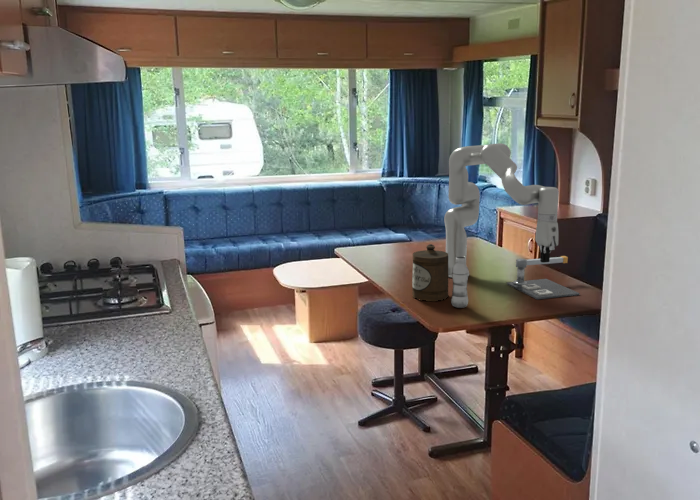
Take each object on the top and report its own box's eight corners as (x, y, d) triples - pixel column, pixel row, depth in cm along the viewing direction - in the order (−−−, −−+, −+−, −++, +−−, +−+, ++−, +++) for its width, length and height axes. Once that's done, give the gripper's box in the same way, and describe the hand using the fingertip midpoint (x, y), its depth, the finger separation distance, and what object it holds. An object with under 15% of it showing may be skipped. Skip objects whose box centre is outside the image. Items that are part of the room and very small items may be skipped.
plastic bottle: (464, 310, 246) (465, 260, 242) (448, 307, 250) (449, 258, 245) (470, 306, 251) (472, 256, 247) (454, 303, 255) (455, 254, 250)
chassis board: (536, 299, 259) (537, 297, 259) (506, 284, 281) (506, 282, 281) (579, 295, 264) (579, 293, 264) (546, 280, 287) (546, 278, 287)
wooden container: (406, 293, 269) (406, 242, 264) (437, 289, 274) (438, 239, 270) (422, 303, 256) (423, 249, 251) (454, 299, 261) (456, 246, 256)
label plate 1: (528, 289, 270) (528, 287, 270) (521, 286, 275) (521, 284, 275) (540, 288, 272) (540, 286, 272) (534, 285, 277) (534, 283, 276)
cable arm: (519, 268, 275) (519, 261, 275) (514, 265, 280) (514, 259, 279) (568, 264, 281) (569, 257, 281) (562, 261, 286) (563, 255, 285)
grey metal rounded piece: (517, 285, 276) (518, 270, 275) (510, 282, 282) (511, 266, 280) (530, 284, 278) (530, 268, 276) (522, 281, 283) (523, 265, 282)
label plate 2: (540, 295, 262) (540, 293, 262) (533, 292, 267) (533, 290, 266) (552, 293, 264) (552, 292, 263) (545, 290, 268) (545, 289, 268)
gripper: (566, 220, 252) (563, 265, 256) (544, 214, 266) (542, 257, 270) (549, 221, 250) (547, 266, 254) (529, 215, 264) (526, 258, 268)
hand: (544, 261), depth 262 cm, fingers closed
